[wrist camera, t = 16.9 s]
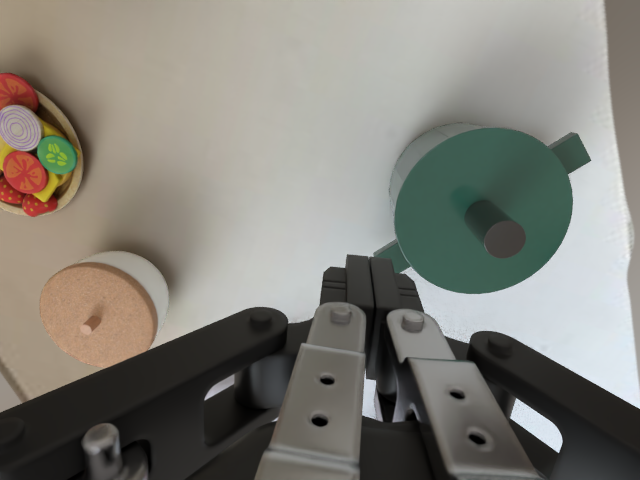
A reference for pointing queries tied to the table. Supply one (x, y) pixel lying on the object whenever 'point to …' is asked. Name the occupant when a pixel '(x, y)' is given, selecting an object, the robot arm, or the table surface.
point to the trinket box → (105, 307)
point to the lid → (483, 210)
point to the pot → (564, 148)
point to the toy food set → (35, 151)
